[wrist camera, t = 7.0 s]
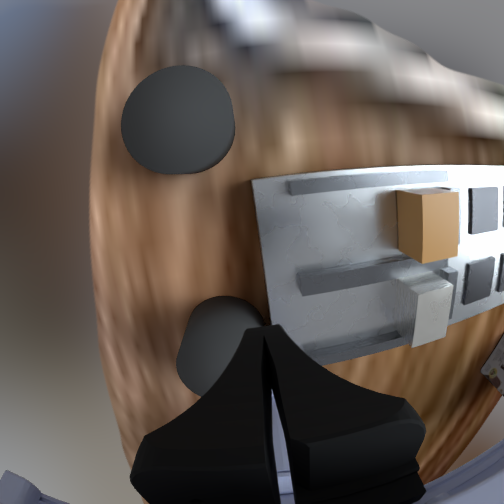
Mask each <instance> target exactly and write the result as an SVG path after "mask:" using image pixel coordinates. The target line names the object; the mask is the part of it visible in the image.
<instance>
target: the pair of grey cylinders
mask: <svg viewBox="0 0 504 504" xmlns="http://www.w3.org/2000/svg"><path fill="white" fill-rule="evenodd" d="M121 131H122V137H123V140H124V143H125V146H126V148H127V150H128V151H129V153H130V154H131V156H132V157H133V158H134V159H135V160H136V161H137V162H138V163H139V164H141V165H142V166H144V167H145V168H147V169H149V170H152V171H154V172H158V173H162V174H192V173H199V172H203V171H205V170H208V169H210V168H212V167H213V166H215V165H216V164H218V163H219V162H220V161H221V160H222V159H223V158H224V157H225V156H226V154H227V153H228V151H229V150H230V148H231V146H232V143H233V140H234V136H235V121H234V114H233V107H232V102H231V99H230V96H229V94H228V92H227V90H226V88H225V87H224V85H223V84H222V83H221V82H220V81H219V80H218V79H217V78H216V77H215V76H214V75H212V74H211V73H209V72H207V71H205V70H203V69H200V68H197V67H193V66H184V65H183V66H172V67H167V68H164V69H161V70H159V71H157V72H155V73H153V74H151V75H149V76H148V77H147V78H145V79H144V80H143V81H142V82H140V83H139V84H138V85H137V87H136V88H135V89H134V90H133V91H132V93H131V94H130V96H129V98H128V100H127V102H126V104H125V107H124V110H123V114H122V120H121ZM262 326H264V322H263V319H262V317H261V315H260V313H259V312H258V311H257V309H256V308H255V307H254V306H252V305H251V304H250V303H248V302H246V301H245V300H242V299H240V298H237V297H232V296H218V297H213V298H210V299H208V300H205V301H204V302H202V303H201V304H199V305H198V306H197V307H196V308H195V309H194V311H193V312H192V314H191V316H190V318H189V321H188V324H187V327H186V330H185V334H184V337H183V340H182V343H181V346H180V349H179V352H178V356H177V360H176V367H177V372H178V375H179V377H180V379H181V380H182V382H183V383H184V384H185V386H186V387H187V388H189V389H190V390H191V391H192V392H194V393H195V394H197V395H199V396H201V397H202V396H203V395H204V394H205V393H206V392H207V391H208V390H209V389H210V388H211V387H212V386H213V384H214V383H215V382H216V381H217V379H218V378H219V377H220V376H221V374H222V373H223V371H224V370H225V368H226V367H227V365H228V364H229V362H230V361H231V359H232V357H233V355H234V354H235V352H236V350H237V348H238V346H239V344H240V342H241V339H242V337H243V334H244V331H245V330H246V329H248V328H255V327H262Z"/></svg>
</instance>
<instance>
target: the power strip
mask: <svg viewBox="0 0 504 504" xmlns="http://www.w3.org/2000/svg"><path fill="white" fill-rule="evenodd" d="M251 186H252V193H253V200H254V207H255V214H256V221H257V228H258V235H259V242H260V249H261V257H262V264H263V271H264V278H265V286H266V293H267V300H268V308H269V315H270V323H271V325H276V324H279V325H281V326H282V327H283V329H284V330H285V332H286V333H287V334H288V335H289V337H290V338H291V339H292V340H293V341H294V342H295V343H296V344H297V345H298V346H299V347H300V348H301V349H302V350H303V351H304V352H305V353H306V354H307V355H308V356H310V357H311V358H312V359H313V360H314V361H316V362H317V363H318V364H320V365H321V366H322V365H327V364H331V363H336V362H341V361H345V360H349V359H354V358H358V357H362V356H366V355H370V354H374V353H377V352H381V351H385V350H388V349H392V348H395V347H399V346H402V345H405V344H409V345H410V346H411V348H413V347H416V346H419V345H422V344H425V343H428V342H431V341H434V340H437V339H440V338H443V337H445V335H446V330H447V326H448V325H451V324H453V323H456V322H459V321H462V320H464V319H467V318H469V317H472V316H474V315H477V314H479V313H482V312H484V311H487V310H489V309H492V308H494V307H496V306H498V305H501V304H503V303H504V165H476V164H427V165H397V166H377V167H361V168H348V169H336V170H324V171H314V172H304V173H295V174H287V175H278V176H271V177H263V178H256V179H251ZM418 188H438V189H444V190H450V191H456V192H459V240H458V256H456V257H451V258H447V259H443V260H438V261H433V262H429V263H424V264H421V263H420V262H418V261H416V260H414V259H413V258H411V257H409V256H408V255H406V254H404V253H402V252H400V251H399V250H398V207H397V190H405V189H418Z"/></svg>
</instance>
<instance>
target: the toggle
mask: <svg viewBox="0 0 504 504" xmlns="http://www.w3.org/2000/svg"><path fill="white" fill-rule="evenodd" d="M397 207H398V250H399V251H400V252H402V253H404V254H406V255H408V256H409V257H411V258H413V259H414V260H416V261H418V262H420V263H421V264H424V263H429V262H433V261H438V260H443V259H447V258H451V257H456V256H458V240H459V192H456V191H450V190H444V189H438V188H418V189H405V190H397Z"/></svg>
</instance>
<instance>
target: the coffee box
mask: <svg viewBox="0 0 504 504" xmlns="http://www.w3.org/2000/svg"><path fill="white" fill-rule="evenodd" d="M481 373H482V374H483V375H484V376H485V377H486V378H487V379H488V380H489V381H490V382H491V383H492V384H493V385H494V386H495V387H496V388H497V390H498V391H499V392H500V393H501V394H502V395H503V396H504V335H503V336H502V338H501V340H500V342H499V343H498V345H497V346H496V348H495V349H494V351H493V353H492V354H491V356H490V357H489V359H488V360H487V362H486V363H485V364H484V366H483V367H482V369H481Z"/></svg>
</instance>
